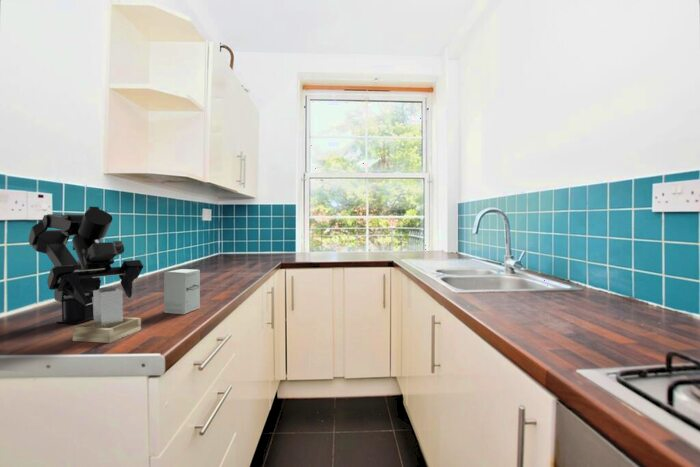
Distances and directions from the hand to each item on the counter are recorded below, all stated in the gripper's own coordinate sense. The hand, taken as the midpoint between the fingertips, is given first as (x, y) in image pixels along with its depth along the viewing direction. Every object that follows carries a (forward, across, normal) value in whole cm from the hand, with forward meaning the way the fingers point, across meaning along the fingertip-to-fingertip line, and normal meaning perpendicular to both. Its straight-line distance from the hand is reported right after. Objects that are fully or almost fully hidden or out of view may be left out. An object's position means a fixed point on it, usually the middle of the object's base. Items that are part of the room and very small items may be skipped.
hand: (109, 300), depth 80 cm
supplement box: (+1, +22, +12) cm, 25 cm away
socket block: (+5, 0, +6) cm, 8 cm away
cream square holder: (+6, 0, +6) cm, 9 cm away
